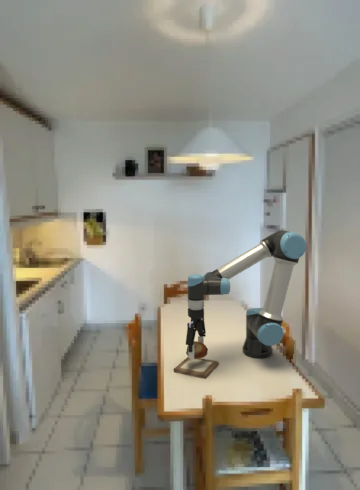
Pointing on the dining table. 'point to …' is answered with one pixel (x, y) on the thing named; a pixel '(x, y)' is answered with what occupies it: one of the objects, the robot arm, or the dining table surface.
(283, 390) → the dining table surface
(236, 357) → the dining table surface
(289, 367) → the dining table surface
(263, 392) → the dining table surface
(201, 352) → the bread roll
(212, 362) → the walnut frame
